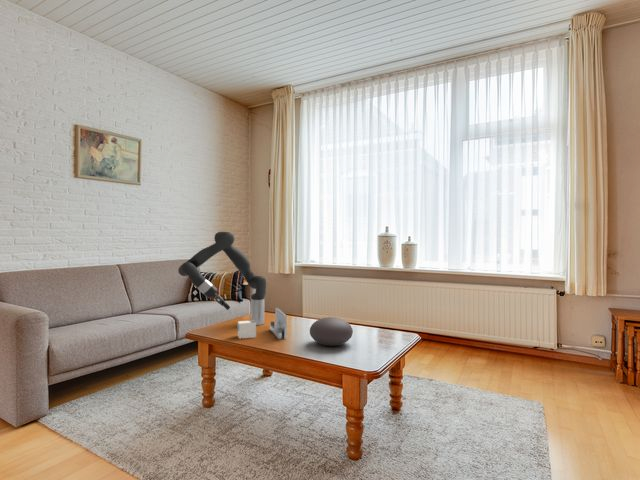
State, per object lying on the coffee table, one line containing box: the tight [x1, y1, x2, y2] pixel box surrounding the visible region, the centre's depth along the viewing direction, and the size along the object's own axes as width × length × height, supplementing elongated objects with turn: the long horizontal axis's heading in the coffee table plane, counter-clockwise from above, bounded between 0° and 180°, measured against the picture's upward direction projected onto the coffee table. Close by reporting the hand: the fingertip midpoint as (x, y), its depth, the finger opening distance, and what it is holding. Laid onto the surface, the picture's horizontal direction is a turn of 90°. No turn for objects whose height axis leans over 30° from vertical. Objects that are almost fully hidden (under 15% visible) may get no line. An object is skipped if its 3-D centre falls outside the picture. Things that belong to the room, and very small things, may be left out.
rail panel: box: [269, 307, 288, 340], centre depth 225 cm, size 24×5×14 cm, turn 20°
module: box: [236, 319, 257, 340], centre depth 218 cm, size 6×10×10 cm, turn 110°
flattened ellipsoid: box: [309, 316, 354, 347], centre depth 205 cm, size 25×25×15 cm
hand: (228, 308), depth 214 cm, fingers open, 3 cm apart
